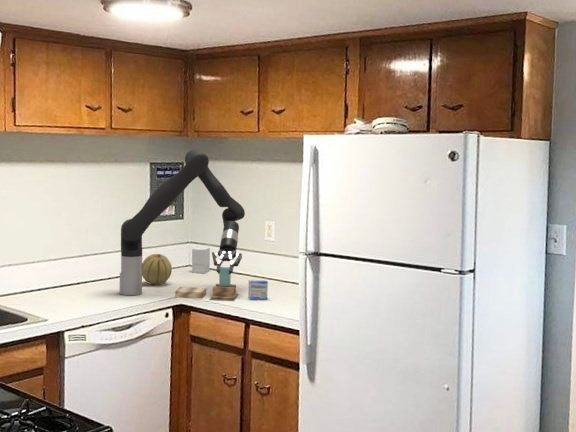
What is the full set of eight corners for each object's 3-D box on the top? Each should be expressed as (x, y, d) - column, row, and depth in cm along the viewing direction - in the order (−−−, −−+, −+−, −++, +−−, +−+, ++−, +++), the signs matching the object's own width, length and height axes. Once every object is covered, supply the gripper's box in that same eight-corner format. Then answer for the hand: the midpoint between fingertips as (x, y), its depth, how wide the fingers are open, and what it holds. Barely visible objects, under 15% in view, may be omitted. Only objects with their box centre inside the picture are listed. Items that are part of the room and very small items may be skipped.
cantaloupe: (155, 280, 374) (156, 250, 373) (178, 284, 366) (178, 253, 365) (133, 284, 362) (134, 253, 361) (156, 288, 354) (156, 256, 352)
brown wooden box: (210, 299, 332) (210, 287, 331) (215, 293, 344) (215, 282, 343) (233, 300, 331) (233, 288, 330) (237, 294, 343) (237, 283, 342)
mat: (208, 300, 330) (208, 300, 330) (215, 293, 346) (215, 292, 346) (233, 301, 329) (233, 301, 329) (239, 294, 345) (239, 293, 345)
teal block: (219, 285, 335) (219, 268, 335) (220, 284, 338) (220, 266, 338) (229, 286, 335) (229, 268, 334) (230, 285, 338) (230, 267, 337)
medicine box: (249, 300, 332) (250, 281, 331) (248, 298, 336) (248, 279, 336) (267, 300, 334) (267, 281, 333) (265, 298, 338) (266, 279, 337)
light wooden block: (175, 297, 334) (175, 291, 334) (180, 293, 344) (180, 286, 344) (202, 299, 333) (202, 292, 333) (206, 294, 343) (206, 288, 343)
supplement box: (210, 271, 403) (210, 247, 402) (204, 273, 396) (205, 249, 395) (197, 270, 405) (197, 247, 404) (191, 272, 398) (191, 248, 397)
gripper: (212, 236, 343) (207, 267, 332) (244, 237, 341) (239, 268, 331) (214, 246, 348) (209, 277, 338) (245, 247, 347) (241, 278, 336)
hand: (224, 272), depth 334 cm, fingers closed on teal block, 4 cm apart
